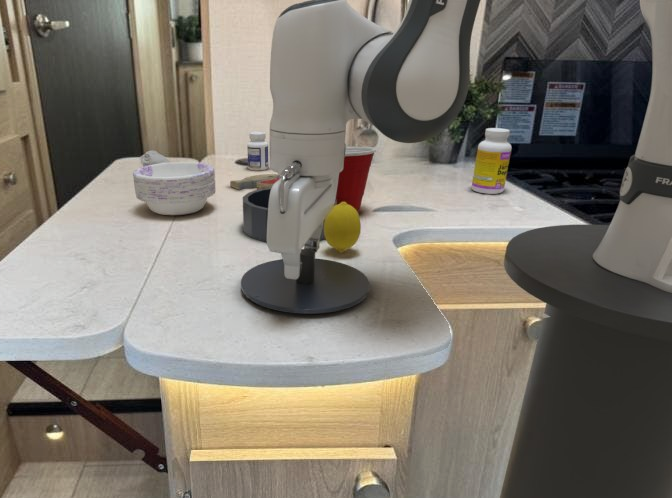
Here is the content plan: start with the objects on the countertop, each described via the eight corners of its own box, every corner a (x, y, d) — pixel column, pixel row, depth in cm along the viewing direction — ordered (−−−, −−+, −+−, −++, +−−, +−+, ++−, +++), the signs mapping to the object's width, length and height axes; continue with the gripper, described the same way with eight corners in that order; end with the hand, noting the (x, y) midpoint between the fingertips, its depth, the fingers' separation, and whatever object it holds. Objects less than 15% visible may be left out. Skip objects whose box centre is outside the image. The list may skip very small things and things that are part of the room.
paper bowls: (132, 203, 110) (128, 163, 106) (206, 196, 114) (204, 158, 111) (142, 224, 97) (137, 180, 93) (225, 216, 101) (223, 173, 98)
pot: (342, 219, 99) (343, 190, 97) (323, 248, 86) (324, 214, 83) (260, 212, 104) (260, 184, 101) (230, 238, 90) (228, 206, 88)
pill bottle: (261, 165, 142) (260, 130, 139) (272, 169, 139) (272, 133, 135) (243, 168, 140) (243, 132, 136) (255, 171, 136) (254, 135, 132)
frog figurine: (146, 178, 130) (143, 148, 127) (175, 178, 129) (173, 148, 126) (138, 184, 124) (135, 153, 121) (168, 184, 124) (166, 153, 121)
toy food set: (305, 169, 138) (305, 153, 136) (356, 180, 127) (357, 162, 126) (227, 187, 122) (226, 169, 120) (279, 200, 111) (279, 181, 109)
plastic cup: (345, 201, 111) (348, 140, 106) (383, 213, 103) (389, 148, 98) (303, 209, 105) (304, 146, 100) (339, 223, 97) (343, 155, 92)
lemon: (316, 249, 85) (318, 199, 82) (348, 244, 87) (351, 195, 84) (332, 261, 81) (335, 208, 77) (365, 256, 83) (369, 204, 79)
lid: (377, 272, 77) (380, 237, 74) (357, 327, 62) (360, 285, 60) (264, 260, 81) (264, 226, 79) (221, 307, 67) (219, 268, 64)
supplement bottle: (495, 196, 114) (507, 133, 108) (465, 191, 118) (475, 129, 112) (508, 190, 118) (520, 129, 113) (479, 185, 122) (488, 126, 117)
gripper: (311, 174, 54) (306, 299, 60) (348, 142, 72) (341, 241, 78) (252, 170, 56) (252, 291, 62) (302, 139, 74) (299, 236, 80)
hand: (302, 263), depth 70 cm, fingers open, 8 cm apart
